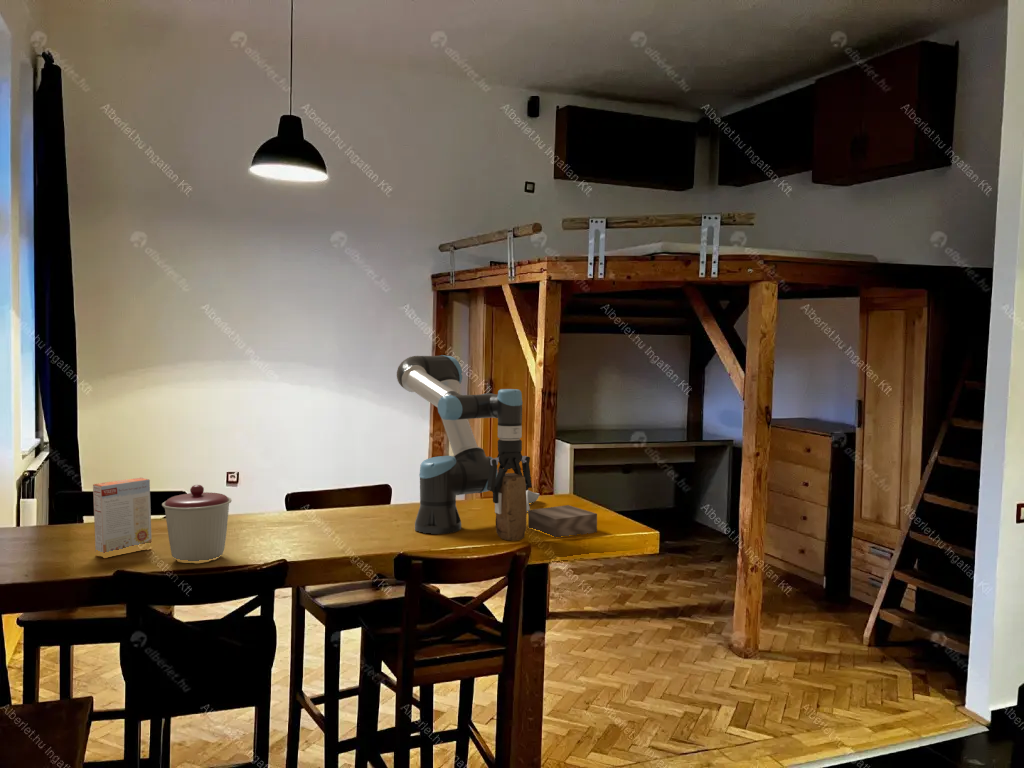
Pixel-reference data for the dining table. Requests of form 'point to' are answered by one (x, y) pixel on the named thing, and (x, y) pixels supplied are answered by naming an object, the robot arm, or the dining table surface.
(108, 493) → the cracker box
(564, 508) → the base block
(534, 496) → the spoon rest
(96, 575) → the dining table surface
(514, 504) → the block
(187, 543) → the canister
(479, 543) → the dining table surface
